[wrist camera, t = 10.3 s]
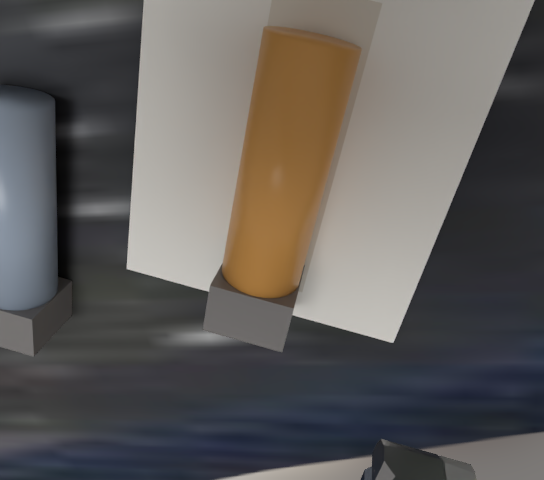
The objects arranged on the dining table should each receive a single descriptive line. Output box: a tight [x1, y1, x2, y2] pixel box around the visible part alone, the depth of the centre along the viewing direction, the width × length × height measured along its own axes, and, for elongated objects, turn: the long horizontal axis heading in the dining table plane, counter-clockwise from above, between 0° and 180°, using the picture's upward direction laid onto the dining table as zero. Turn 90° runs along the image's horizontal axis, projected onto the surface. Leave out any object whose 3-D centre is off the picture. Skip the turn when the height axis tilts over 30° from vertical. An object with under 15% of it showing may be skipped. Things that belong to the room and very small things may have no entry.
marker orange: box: [203, 26, 362, 352], centre depth 20 cm, size 12×4×4 cm, turn 169°
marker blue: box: [0, 85, 72, 357], centre depth 24 cm, size 12×4×4 cm, turn 169°
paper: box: [127, 0, 535, 343], centre depth 21 cm, size 16×14×1 cm
